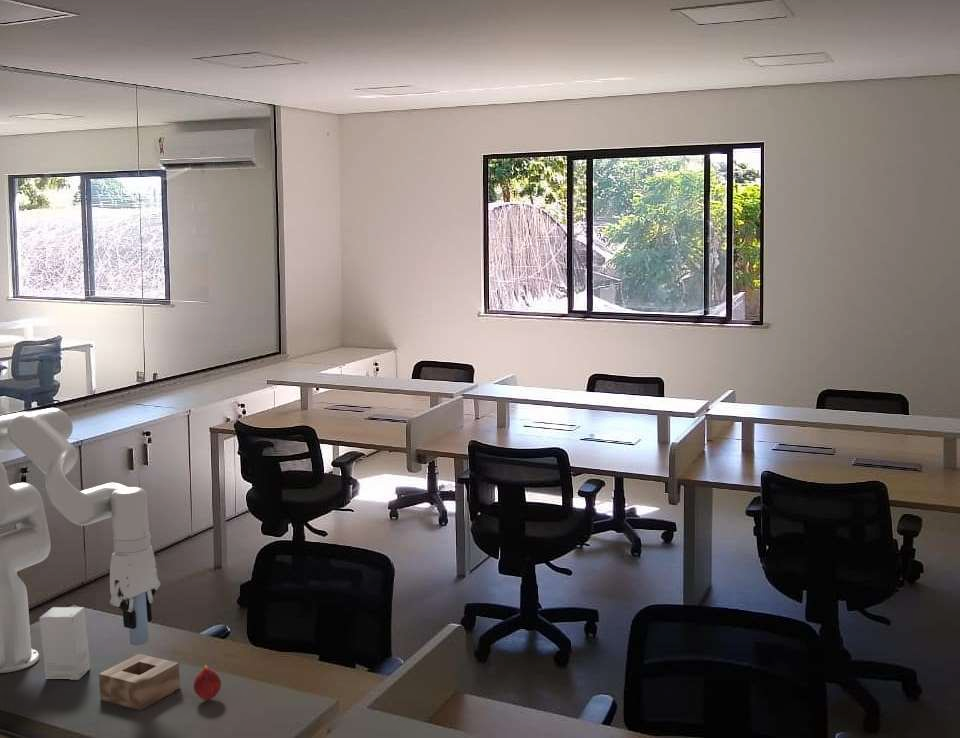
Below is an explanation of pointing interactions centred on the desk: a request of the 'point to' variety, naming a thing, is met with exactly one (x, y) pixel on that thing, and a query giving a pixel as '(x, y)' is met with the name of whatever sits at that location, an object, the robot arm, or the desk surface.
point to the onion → (207, 684)
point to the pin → (139, 621)
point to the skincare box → (65, 643)
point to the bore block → (139, 681)
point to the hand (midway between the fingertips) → (138, 623)
